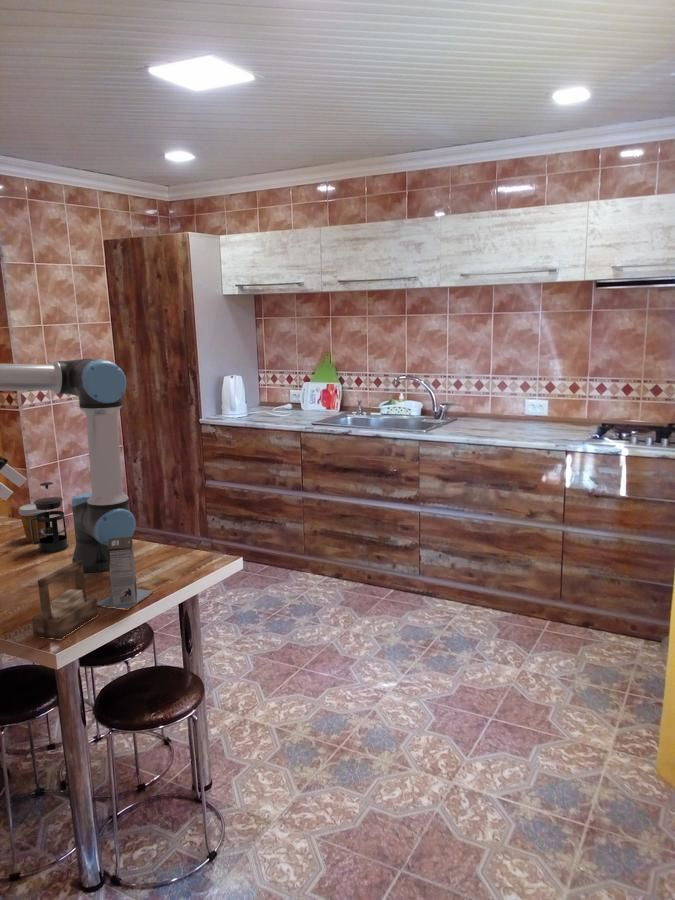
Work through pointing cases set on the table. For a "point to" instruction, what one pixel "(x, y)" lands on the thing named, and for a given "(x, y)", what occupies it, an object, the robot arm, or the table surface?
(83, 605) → the offcut rack
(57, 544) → the french press
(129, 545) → the coffee box
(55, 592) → the table surface
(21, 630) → the table surface
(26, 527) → the disposable coffee cup
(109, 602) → the slate mat
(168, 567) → the table surface
